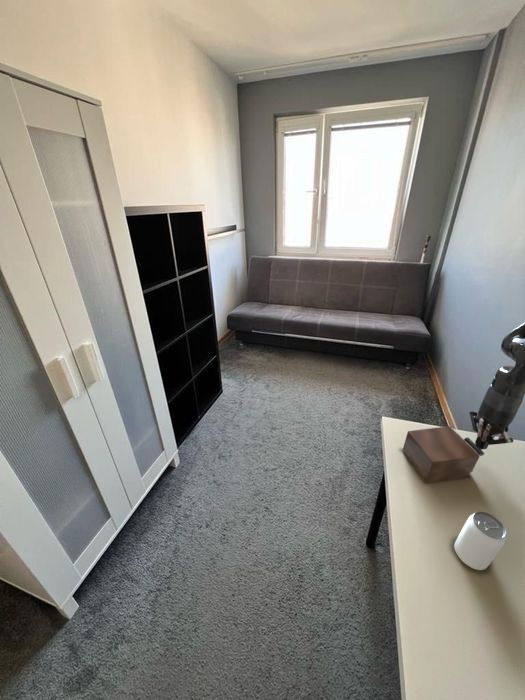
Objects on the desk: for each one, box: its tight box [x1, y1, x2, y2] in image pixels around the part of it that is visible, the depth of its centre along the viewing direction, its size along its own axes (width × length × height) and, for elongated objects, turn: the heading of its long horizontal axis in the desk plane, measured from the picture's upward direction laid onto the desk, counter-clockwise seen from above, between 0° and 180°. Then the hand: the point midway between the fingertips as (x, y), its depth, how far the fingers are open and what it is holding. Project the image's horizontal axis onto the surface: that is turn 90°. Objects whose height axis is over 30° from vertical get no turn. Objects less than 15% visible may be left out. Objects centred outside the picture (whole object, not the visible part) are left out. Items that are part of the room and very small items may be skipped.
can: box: [454, 510, 507, 571], centre depth 60 cm, size 6×6×12 cm
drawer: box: [451, 428, 485, 473], centre depth 83 cm, size 17×10×7 cm, turn 97°
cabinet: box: [401, 425, 480, 483], centre depth 83 cm, size 14×12×9 cm
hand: (479, 447), depth 84 cm, fingers closed
